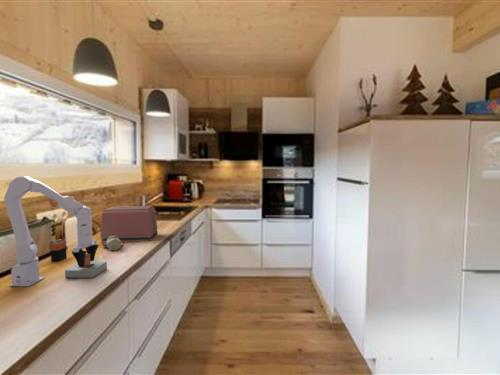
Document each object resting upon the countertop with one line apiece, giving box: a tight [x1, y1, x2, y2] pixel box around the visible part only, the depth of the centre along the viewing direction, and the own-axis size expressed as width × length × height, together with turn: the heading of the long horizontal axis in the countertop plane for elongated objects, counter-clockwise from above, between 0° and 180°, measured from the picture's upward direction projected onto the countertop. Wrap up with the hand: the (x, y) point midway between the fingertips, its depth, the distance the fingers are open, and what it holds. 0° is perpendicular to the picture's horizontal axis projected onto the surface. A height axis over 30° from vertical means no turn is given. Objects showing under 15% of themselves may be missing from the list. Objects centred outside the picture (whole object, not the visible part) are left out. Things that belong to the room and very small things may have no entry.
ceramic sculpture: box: [101, 234, 123, 251], centre depth 182 cm, size 11×9×15 cm
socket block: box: [64, 261, 108, 280], centre depth 140 cm, size 12×12×4 cm
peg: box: [82, 253, 92, 268], centre depth 140 cm, size 4×4×8 cm
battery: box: [49, 238, 67, 262], centre depth 162 cm, size 4×7×10 cm, turn 0°
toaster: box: [100, 205, 159, 244], centre depth 205 cm, size 19×34×20 cm, turn 94°
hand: (86, 263), depth 140 cm, fingers open, 7 cm apart
